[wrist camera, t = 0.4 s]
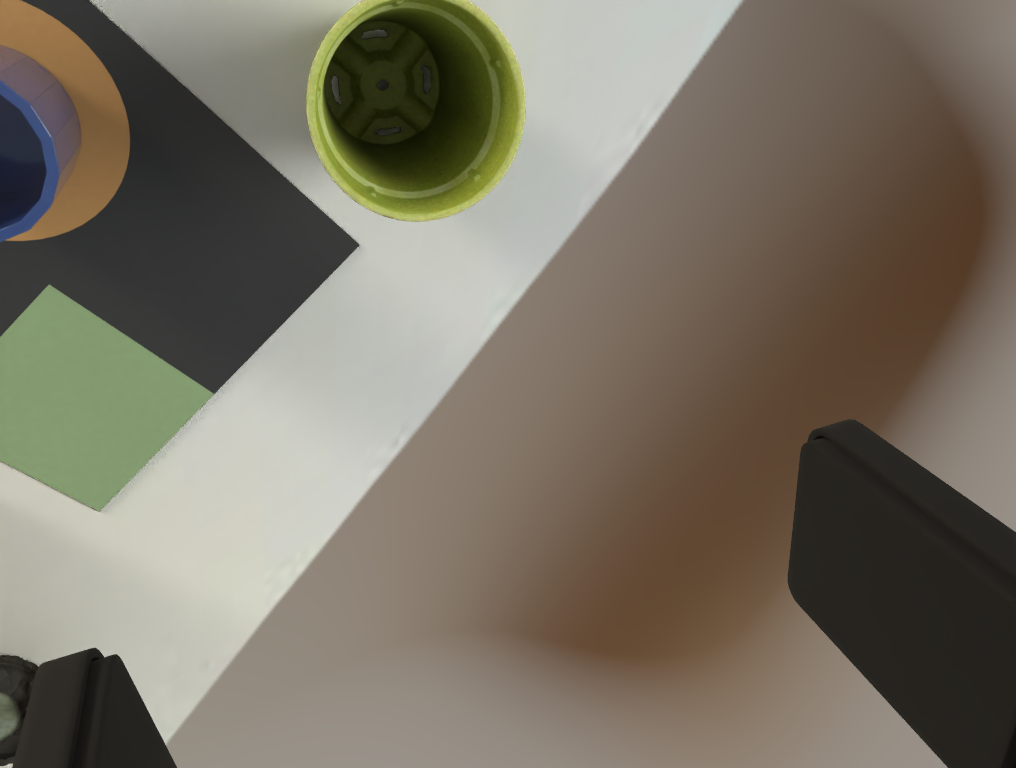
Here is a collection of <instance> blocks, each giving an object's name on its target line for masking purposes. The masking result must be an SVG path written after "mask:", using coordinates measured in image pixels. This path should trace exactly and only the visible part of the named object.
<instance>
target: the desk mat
mask: <svg viewBox="0 0 1016 768" xmlns="http://www.w3.org/2000/svg"><path fill="white" fill-rule="evenodd" d="M0 45H3V46H6V47H9V48H12V49H15V50H17V51H19V52H21V53H23V54H25V55H27V56H29V57H30V58H32V59H34V60H35V61H37V62H38V63H39V64H41V65H42V66H43V67H45V68H46V69H47V70H48V71H49V72H50V73H51V74H52V75H53V76H54V77H55V78H56V79H57V80H58V81H59V82H60V83H61V84H62V86H63V87H64V89H65V90H66V91H67V93H68V94H69V96H70V98H71V100H72V102H73V104H74V106H75V108H76V111H77V113H78V117H79V121H80V125H81V134H82V135H81V148H80V153H79V156H78V159H77V162H76V165H75V168H74V170H73V172H72V174H71V175H70V177H69V178H68V180H67V182H66V183H65V185H64V186H63V188H62V190H61V191H60V193H59V195H58V196H57V198H56V199H55V201H54V203H53V204H52V206H51V207H50V208H49V209H48V211H47V212H46V213H45V214H44V215H43V216H42V217H41V218H40V219H39V220H38V222H37V223H36V224H35V225H34V226H33V227H32V228H31V229H30V230H29V231H26V232H24V233H22V234H19V235H17V236H15V237H12V238H10V239H7V240H5V241H3V242H0V461H2V462H4V463H6V464H8V465H10V466H11V467H13V468H15V469H17V470H19V471H21V472H23V473H25V474H27V475H29V476H31V477H33V478H35V479H37V480H39V481H41V482H43V483H44V484H46V485H48V486H50V487H52V488H54V489H56V490H58V491H60V492H62V493H64V494H66V495H68V496H70V497H72V498H74V499H76V500H77V501H79V502H81V503H83V504H85V505H87V506H89V507H91V508H93V509H95V510H97V511H100V510H101V509H102V508H103V507H104V506H105V505H106V504H107V503H108V502H109V501H110V500H111V499H112V498H113V497H114V496H115V495H116V494H117V493H118V492H119V491H120V490H121V489H122V488H123V487H124V486H125V485H126V484H127V483H128V482H129V481H130V480H131V479H132V478H133V477H134V476H135V475H136V474H137V473H138V471H139V470H140V469H141V468H142V467H143V466H144V465H145V464H146V463H147V462H148V461H149V460H150V459H151V458H152V457H153V456H154V455H155V454H156V453H157V452H158V451H159V450H160V449H161V448H162V447H163V446H164V445H165V444H166V443H167V442H168V441H169V440H170V439H171V438H172V437H173V436H174V435H175V434H176V433H177V432H178V431H179V430H180V428H181V427H182V426H183V425H184V424H185V423H186V422H187V421H188V420H189V419H190V418H191V417H192V416H193V415H194V414H195V413H196V412H197V411H198V410H199V409H200V408H201V407H202V406H203V405H204V404H205V403H206V402H207V401H208V400H209V399H210V398H211V397H212V396H213V395H214V394H215V393H216V392H217V391H218V390H219V388H220V387H221V386H222V385H223V384H224V383H225V382H226V381H227V380H228V379H229V378H230V377H231V376H232V375H233V374H234V373H235V372H236V371H237V370H238V369H239V368H240V367H241V366H242V365H243V364H244V363H245V362H246V361H247V360H248V359H249V358H250V357H251V356H252V355H253V354H254V353H255V352H256V351H257V350H258V349H259V348H260V347H261V345H262V344H263V343H264V342H265V341H266V340H267V339H268V338H269V337H270V336H271V335H272V334H273V333H274V332H275V331H276V330H277V329H278V328H279V327H280V326H281V325H282V324H283V323H284V322H285V321H286V320H287V319H288V318H289V317H290V316H291V315H292V314H293V313H294V312H295V311H296V310H297V309H298V308H299V307H300V306H301V305H302V304H303V302H304V301H305V300H306V299H307V298H308V297H309V296H310V295H311V294H312V293H313V292H314V291H315V290H316V289H317V288H318V287H319V286H320V285H321V284H322V283H323V282H324V281H325V280H326V279H327V278H328V277H329V276H330V275H331V274H332V273H333V272H334V271H335V270H336V269H337V268H338V267H339V266H340V265H341V264H342V263H343V262H344V261H345V260H346V258H347V257H348V256H349V255H350V254H351V253H352V252H353V251H354V250H355V249H356V248H357V247H358V246H359V244H358V243H357V242H356V241H355V240H354V239H352V238H351V237H350V236H349V235H348V234H347V233H346V232H345V231H344V230H342V229H341V228H340V227H339V226H338V225H337V224H336V223H335V222H334V221H332V220H331V219H330V218H329V217H328V216H327V215H326V214H325V213H324V212H322V211H321V210H320V209H319V208H318V207H317V206H316V205H315V204H314V203H312V202H311V201H310V200H309V199H308V198H307V197H306V196H305V195H304V194H303V193H301V192H300V191H299V190H298V189H297V188H296V187H295V186H294V185H293V184H291V183H290V182H289V181H288V180H287V179H286V178H285V177H284V176H283V175H281V174H280V173H279V172H278V171H277V170H276V169H275V168H274V167H273V166H271V165H270V164H269V163H268V162H267V161H266V160H265V159H264V158H263V157H261V156H260V155H259V154H258V153H257V152H256V151H255V150H254V149H253V148H252V147H250V146H249V145H248V144H247V143H246V142H245V141H244V140H243V139H242V138H240V137H239V136H238V135H237V134H236V133H235V132H234V131H233V130H232V129H230V128H229V127H228V126H227V125H226V124H225V123H224V122H223V121H222V120H220V119H219V118H218V117H217V116H216V115H215V114H214V113H213V112H212V111H210V110H209V109H208V108H207V107H206V106H205V105H204V104H203V103H202V102H201V101H199V100H198V99H197V98H196V97H195V96H194V95H193V94H192V93H191V92H189V91H188V90H187V89H186V88H185V87H184V86H183V85H182V84H181V83H179V82H178V81H177V80H176V79H175V78H174V77H173V76H172V75H171V74H169V73H168V72H167V71H166V70H165V69H164V68H163V67H162V66H161V65H159V64H158V63H157V62H156V61H155V60H154V59H153V58H152V57H151V56H150V55H148V54H147V53H146V52H145V51H144V50H143V49H142V48H141V47H140V46H138V45H137V44H136V43H135V42H134V41H133V40H132V39H131V38H130V37H128V36H127V35H126V34H125V33H124V32H123V31H122V30H121V29H120V28H118V27H117V26H116V25H115V24H114V23H113V22H112V21H111V20H110V19H108V18H107V17H106V16H105V15H104V14H103V13H102V12H101V11H100V10H98V9H97V8H96V7H95V6H94V5H93V4H92V3H91V2H90V1H89V0H0Z"/></svg>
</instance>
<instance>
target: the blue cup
mask: <svg viewBox="0 0 1016 768" xmlns="http://www.w3.org/2000/svg"><path fill="white" fill-rule="evenodd" d="M81 135H82V134H81V125H80V121H79V117H78V113H77V111H76V108H75V106H74V104H73V102H72V100H71V98H70V96H69V94H68V93H67V91H66V90H65V89H64V87H63V86H62V84H61V83H60V82H59V81H58V80H57V79H56V78H55V77H54V76H53V75H52V74H51V73H50V72H49V71H48V70H47V69H46V68H45V67H43V66H42V65H41V64H39V63H38V62H37V61H35V60H34V59H32V58H30V57H29V56H27V55H25V54H23V53H21V52H19V51H17V50H15V49H12V48H9V47H6V46H3V45H0V242H3V241H5V240H7V239H10V238H12V237H15V236H17V235H19V234H22V233H24V232H26V231H29V230H30V229H31V228H32V227H33V226H34V225H35V224H36V223H37V222H38V220H39V219H40V218H41V217H42V216H43V215H44V214H45V213H46V212H47V211H48V209H49V208H50V207H51V206H52V204H53V203H54V201H55V199H56V198H57V196H58V195H59V193H60V191H61V190H62V188H63V186H64V185H65V183H66V182H67V180H68V178H69V177H70V175H71V174H72V172H73V170H74V168H75V165H76V162H77V159H78V156H79V153H80V148H81Z"/></svg>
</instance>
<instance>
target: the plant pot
mask: <svg viewBox="0 0 1016 768" xmlns="http://www.w3.org/2000/svg"><path fill="white" fill-rule="evenodd" d="M378 29H379V30H384V31H386V32H387V33H388V36H387V37H373V38H368V39H362V38H361V37H362V35H363V33H364V32H368V31H374V30H378ZM423 65H426V66H427V67H428V69H429V71H430V79H431V87H430V91H429V92H428V93H425V92H424V76H423V72H422V66H423ZM333 76H338V78H339V92H340V97H341V98H340V100H341V102H342V103H341V104H339V103H338V102H337V101H336V100H335V97H334V95H333V92H332V84H331V80H332V77H333ZM381 80H384V81H387V83H388V88H387V89H386V90H381V89H379V88H378V83H379V81H381ZM525 104H526V102H525V91H524V84H523V78H522V74H521V70H520V67H519V64H518V61H517V59H516V56H515V54H514V52H513V50H512V48H511V46H510V44H509V42H508V41H507V39H506V37H505V36H504V34H503V33H502V31H501V30H500V29H499V27H498V26H497V25H496V24H495V23H494V22H493V21H492V20H491V18H490V17H489V16H488V15H487V14H486V13H485V12H483V11H482V10H481V9H480V8H478V7H477V6H476V5H474V4H473V3H471V2H470V1H468V0H363V1H362V2H360V3H358V4H357V5H355V6H354V7H353V8H351V9H350V10H349V11H348V12H346V13H345V14H344V15H343V16H342V17H341V18H340V19H339V20H338V21H337V22H336V23H335V24H334V26H333V27H332V28H331V29H330V31H329V32H328V33H327V35H326V36H325V38H324V40H323V41H322V43H321V45H320V47H319V49H318V51H317V53H316V55H315V57H314V60H313V63H312V66H311V69H310V73H309V78H308V84H307V92H306V113H307V121H308V126H309V131H310V135H311V139H312V142H313V145H314V147H315V150H316V152H317V155H318V157H319V159H320V161H321V162H322V164H323V166H324V168H325V169H326V171H327V172H328V174H329V175H330V176H331V178H332V179H333V181H334V182H335V183H336V184H337V185H338V186H339V187H340V188H341V189H342V191H343V192H344V193H346V194H347V195H348V196H349V197H350V198H352V199H353V200H354V201H355V202H357V203H358V204H360V205H362V206H363V207H365V208H367V209H368V210H370V211H372V212H375V213H377V214H380V215H382V216H385V217H388V218H392V219H396V220H402V221H412V222H422V221H430V220H437V219H442V218H445V217H449V216H452V215H454V214H457V213H459V212H461V211H463V210H465V209H467V208H469V207H471V206H472V205H474V204H475V203H477V202H479V201H480V200H481V199H482V198H484V197H485V196H486V195H487V194H488V193H489V192H490V191H491V190H492V189H493V188H494V187H495V186H496V185H497V184H498V183H499V181H500V180H501V179H502V177H503V176H504V175H505V173H506V172H507V170H508V168H509V167H510V165H511V163H512V161H513V159H514V157H515V155H516V153H517V150H518V148H519V145H520V141H521V138H522V134H523V129H524V123H525ZM398 126H399V127H401V130H400V132H399V133H394V134H390V135H388V136H380V135H377V133H376V130H377V129H389V128H395V127H398Z"/></svg>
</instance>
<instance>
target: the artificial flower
mask: <svg viewBox="0 0 1016 768" xmlns="http://www.w3.org/2000/svg"><path fill="white" fill-rule="evenodd" d="M37 669H38V666H37V665H36V664H34V663H32V662H29V661H27V660H26V661H25V660H23V659H22V658H20V657H18V656H9V655H7V656H4V657H1V658H0V766H5V765H7V764H9V763H12V764H13V763H14V759H15V755H16V751H17V747H18V743H19V739H20V735H21V731H22V727H23V723H24V719H25V715H26V711H27V707H28V703H29V699H30V695H31V691H32V686H33V682H34V678H35V675H36V672H37Z"/></svg>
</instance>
